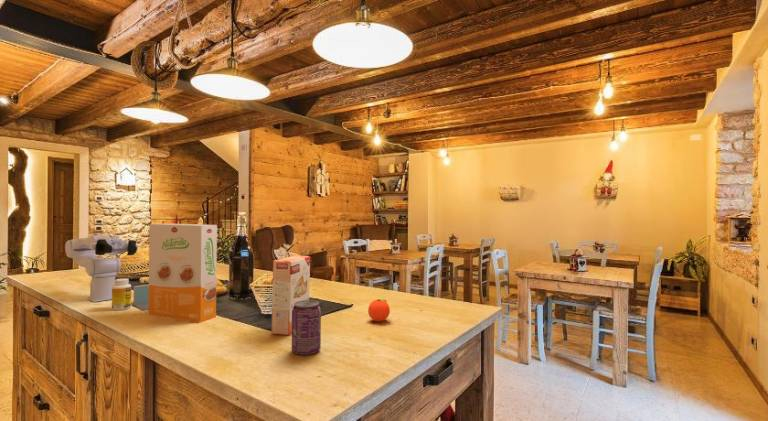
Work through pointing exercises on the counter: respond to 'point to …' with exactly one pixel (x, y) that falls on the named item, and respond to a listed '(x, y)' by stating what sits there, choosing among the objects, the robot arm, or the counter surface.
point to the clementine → (379, 310)
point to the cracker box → (288, 290)
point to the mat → (142, 306)
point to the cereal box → (182, 271)
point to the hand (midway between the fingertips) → (123, 249)
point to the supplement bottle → (121, 294)
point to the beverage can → (306, 327)
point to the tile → (141, 294)
